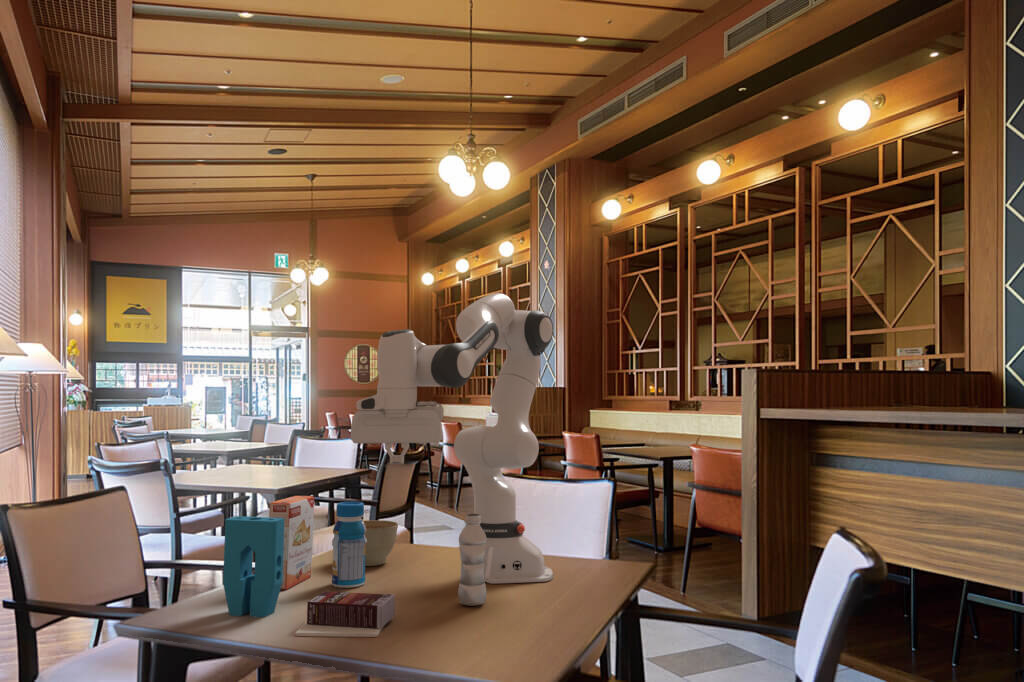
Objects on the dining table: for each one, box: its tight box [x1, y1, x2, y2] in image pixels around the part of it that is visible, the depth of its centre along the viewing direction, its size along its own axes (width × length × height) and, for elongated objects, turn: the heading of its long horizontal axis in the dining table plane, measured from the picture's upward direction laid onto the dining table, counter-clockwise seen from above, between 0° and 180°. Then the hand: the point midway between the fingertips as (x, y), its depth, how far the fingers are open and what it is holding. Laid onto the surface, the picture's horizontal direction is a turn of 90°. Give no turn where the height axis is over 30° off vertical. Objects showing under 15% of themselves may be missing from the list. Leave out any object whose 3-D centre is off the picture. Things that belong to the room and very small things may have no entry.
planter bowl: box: [363, 519, 399, 567], centre depth 207 cm, size 16×16×11 cm
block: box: [222, 515, 284, 618], centre depth 159 cm, size 12×5×20 cm, turn 79°
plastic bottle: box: [457, 513, 488, 607], centre depth 166 cm, size 6×7×20 cm
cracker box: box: [268, 495, 315, 591], centre depth 185 cm, size 14×6×21 cm, turn 170°
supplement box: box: [306, 590, 396, 629], centre depth 151 cm, size 9×5×16 cm
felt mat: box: [294, 620, 384, 638], centre depth 150 cm, size 16×14×1 cm
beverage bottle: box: [331, 501, 367, 589], centre depth 184 cm, size 8×8×20 cm
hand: (396, 463), depth 164 cm, fingers closed
